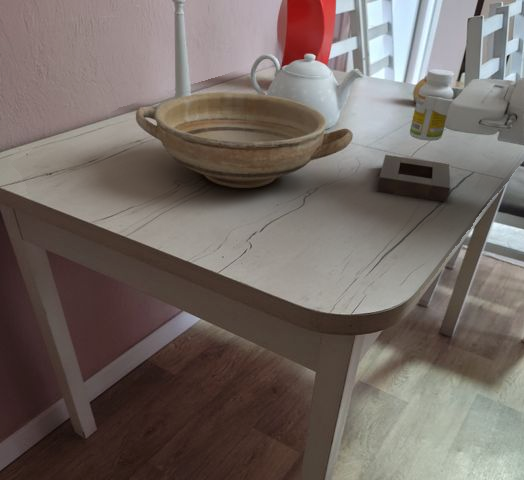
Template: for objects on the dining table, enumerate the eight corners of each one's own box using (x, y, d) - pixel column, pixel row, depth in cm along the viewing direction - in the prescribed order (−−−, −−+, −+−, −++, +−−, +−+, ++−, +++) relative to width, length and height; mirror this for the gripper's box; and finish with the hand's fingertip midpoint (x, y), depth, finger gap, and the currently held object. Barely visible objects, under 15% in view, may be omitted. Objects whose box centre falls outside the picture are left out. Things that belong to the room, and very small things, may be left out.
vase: (270, 82, 140) (277, -43, 122) (318, 82, 143) (331, -40, 125) (285, 96, 129) (295, -38, 111) (335, 95, 133) (353, -35, 114)
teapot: (315, 107, 123) (322, 44, 114) (355, 129, 111) (367, 61, 102) (247, 112, 116) (249, 46, 107) (282, 137, 104) (288, 64, 95)
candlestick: (212, 105, 120) (210, -54, 100) (209, 120, 110) (206, -51, 90) (160, 102, 119) (147, -58, 99) (152, 118, 109) (137, -56, 89)
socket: (445, 177, 92) (449, 164, 90) (445, 202, 83) (450, 188, 81) (382, 167, 94) (385, 154, 92) (376, 191, 85) (379, 177, 83)
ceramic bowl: (347, 158, 96) (356, 103, 90) (339, 222, 75) (351, 156, 68) (167, 137, 100) (163, 83, 93) (110, 192, 79) (100, 127, 72)
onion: (414, 98, 135) (420, 69, 130) (443, 103, 132) (451, 74, 128) (407, 105, 129) (414, 75, 124) (438, 110, 127) (446, 80, 122)
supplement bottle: (443, 134, 84) (461, 71, 77) (438, 143, 80) (456, 77, 74) (412, 129, 85) (427, 66, 79) (405, 137, 82) (420, 72, 75)
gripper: (503, 152, 70) (408, 133, 74) (517, 118, 84) (437, 104, 88) (520, 104, 66) (419, 87, 70) (532, 76, 80) (447, 64, 84)
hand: (429, 96), depth 79 cm, fingers closed on supplement bottle, 5 cm apart
